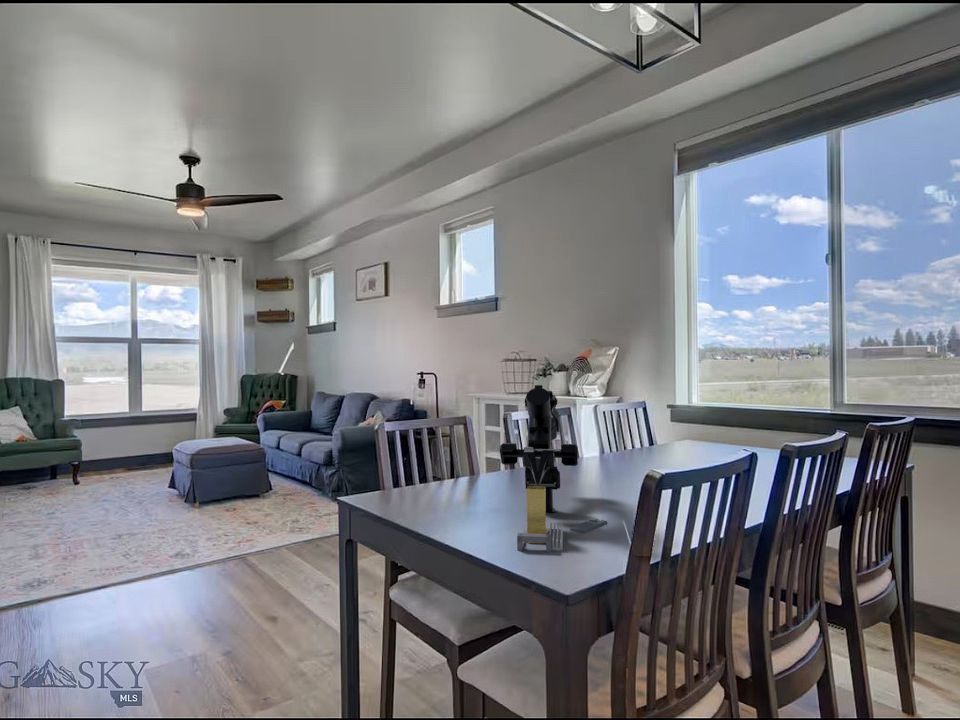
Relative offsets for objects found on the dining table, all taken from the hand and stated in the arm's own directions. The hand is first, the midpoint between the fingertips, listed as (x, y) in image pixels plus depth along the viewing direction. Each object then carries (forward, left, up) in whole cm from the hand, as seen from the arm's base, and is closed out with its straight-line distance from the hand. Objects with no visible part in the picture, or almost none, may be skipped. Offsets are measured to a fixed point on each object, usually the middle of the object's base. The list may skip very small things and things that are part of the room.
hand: (537, 484), depth 137 cm
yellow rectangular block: (+8, -2, -10) cm, 13 cm away
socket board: (+9, -2, -11) cm, 15 cm away
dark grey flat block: (0, +12, -12) cm, 17 cm away
